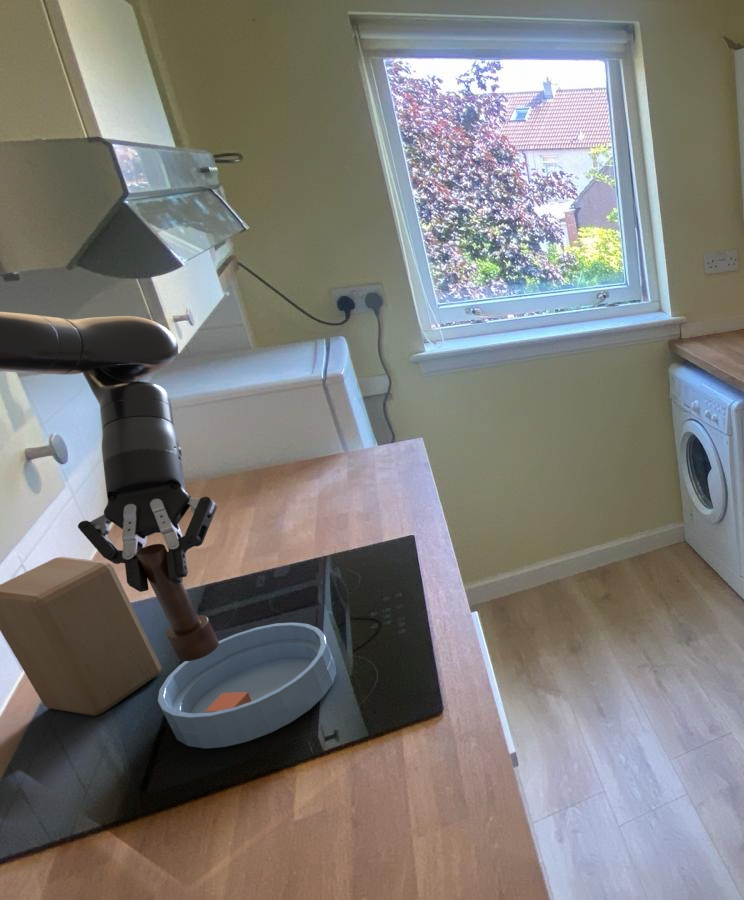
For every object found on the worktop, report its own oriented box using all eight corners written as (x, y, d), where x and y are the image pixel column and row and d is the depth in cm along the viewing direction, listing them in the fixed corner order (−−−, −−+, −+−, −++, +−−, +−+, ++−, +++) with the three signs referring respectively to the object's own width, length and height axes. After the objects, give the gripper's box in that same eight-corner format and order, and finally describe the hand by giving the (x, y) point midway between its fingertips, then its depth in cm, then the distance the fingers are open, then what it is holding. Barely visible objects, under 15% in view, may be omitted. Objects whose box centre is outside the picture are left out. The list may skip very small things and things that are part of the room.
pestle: (180, 666, 94) (128, 565, 87) (175, 648, 97) (125, 549, 90) (221, 650, 97) (174, 550, 90) (216, 633, 100) (170, 535, 92)
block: (239, 730, 99) (230, 710, 97) (213, 731, 99) (204, 711, 97) (256, 711, 102) (248, 691, 101) (231, 712, 102) (222, 692, 101)
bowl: (195, 776, 93) (177, 740, 90) (159, 705, 104) (143, 672, 102) (358, 691, 106) (346, 658, 104) (310, 637, 118) (299, 606, 115)
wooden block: (115, 663, 113) (58, 553, 105) (167, 671, 111) (113, 559, 103) (42, 710, 104) (-27, 593, 96) (98, 719, 102) (32, 601, 94)
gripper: (56, 460, 88) (68, 596, 83) (199, 436, 94) (218, 560, 90) (87, 483, 95) (100, 610, 90) (219, 459, 101) (238, 576, 96)
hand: (159, 584), depth 90 cm, fingers closed on pestle, 3 cm apart
